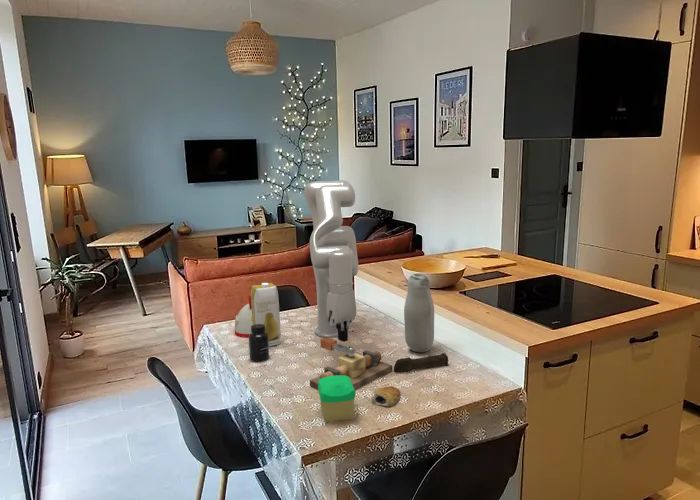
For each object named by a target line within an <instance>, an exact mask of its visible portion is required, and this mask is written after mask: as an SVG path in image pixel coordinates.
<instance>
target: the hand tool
mask: <svg viewBox="0 0 700 500" xmlns="http://www.w3.org/2000/svg"><path fill="white" fill-rule="evenodd" d="M438 366H445V367H448V366H449V356H448V355H447V354H446V353H445V352H442V353H440V354H434V355H428V356H422V357H418V358H411V357H410V356H409V357H405V358H398V359H397V360H396V361H395V364H394V366H393V373H396V374H402V373H403V374H405V373H412V371H414V370H420V369H424V368H431V367H438Z"/></svg>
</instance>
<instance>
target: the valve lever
mask: <svg viewBox="0 0 700 500" xmlns="http://www.w3.org/2000/svg"><path fill="white" fill-rule="evenodd" d="M320 348H321V349H325V350H327V351H330V352H332V351H334V350H335V351H338V352H341V353H342V354H344V355H346V354H348V355H349V357H354V354H355V353H356V347H355V346H346V345H343V344H340V343H338V340H336V339H333V338H331V337H322V338H320Z"/></svg>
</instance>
